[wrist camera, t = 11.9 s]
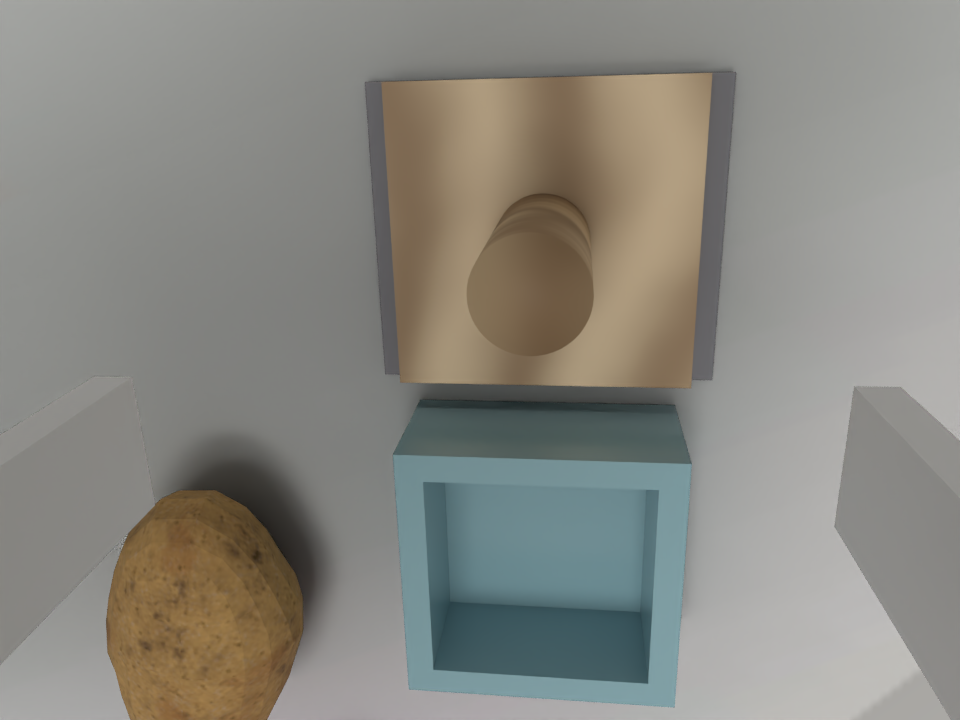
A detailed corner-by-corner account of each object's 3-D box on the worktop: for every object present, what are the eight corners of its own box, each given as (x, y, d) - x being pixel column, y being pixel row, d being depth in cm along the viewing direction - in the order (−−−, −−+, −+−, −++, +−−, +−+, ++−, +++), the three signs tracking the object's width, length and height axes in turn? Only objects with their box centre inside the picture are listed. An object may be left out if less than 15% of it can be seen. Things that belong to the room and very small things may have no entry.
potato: (329, 461, 40) (271, 550, 32) (324, 683, 45) (273, 804, 37) (145, 437, 41) (47, 517, 33) (160, 657, 45) (77, 770, 38)
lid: (404, 374, 37) (345, 474, 28) (387, 81, 33) (309, 82, 23) (688, 380, 35) (726, 487, 26) (708, 72, 31) (763, 69, 22)
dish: (431, 608, 42) (409, 689, 36) (420, 399, 38) (392, 455, 32) (661, 620, 41) (674, 707, 35) (674, 405, 37) (691, 464, 31)
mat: (388, 369, 38) (385, 374, 37) (368, 81, 33) (364, 82, 33) (710, 375, 36) (712, 380, 35) (733, 71, 32) (736, 71, 31)
